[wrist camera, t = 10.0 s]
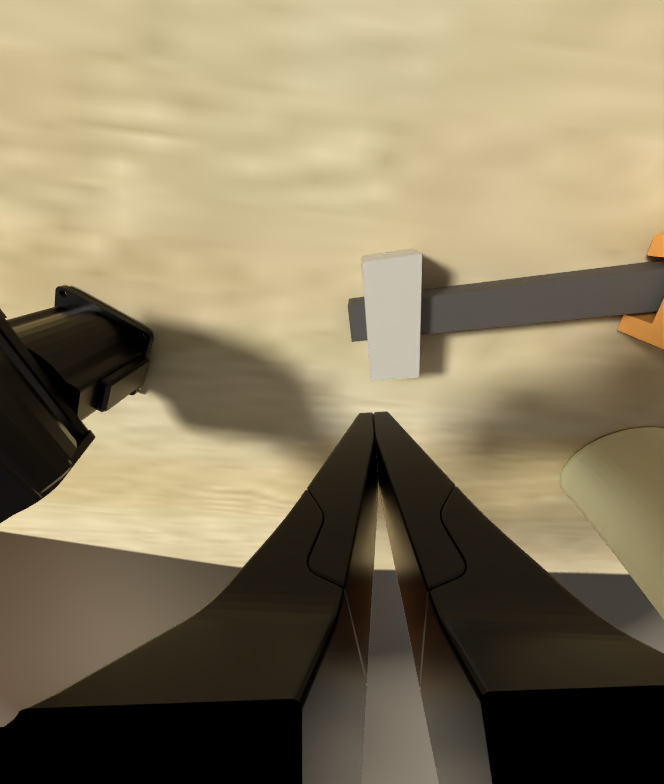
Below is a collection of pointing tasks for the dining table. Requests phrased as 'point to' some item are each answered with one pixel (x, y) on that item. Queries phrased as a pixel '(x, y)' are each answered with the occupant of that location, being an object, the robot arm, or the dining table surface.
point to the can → (625, 501)
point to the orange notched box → (647, 326)
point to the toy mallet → (482, 304)
